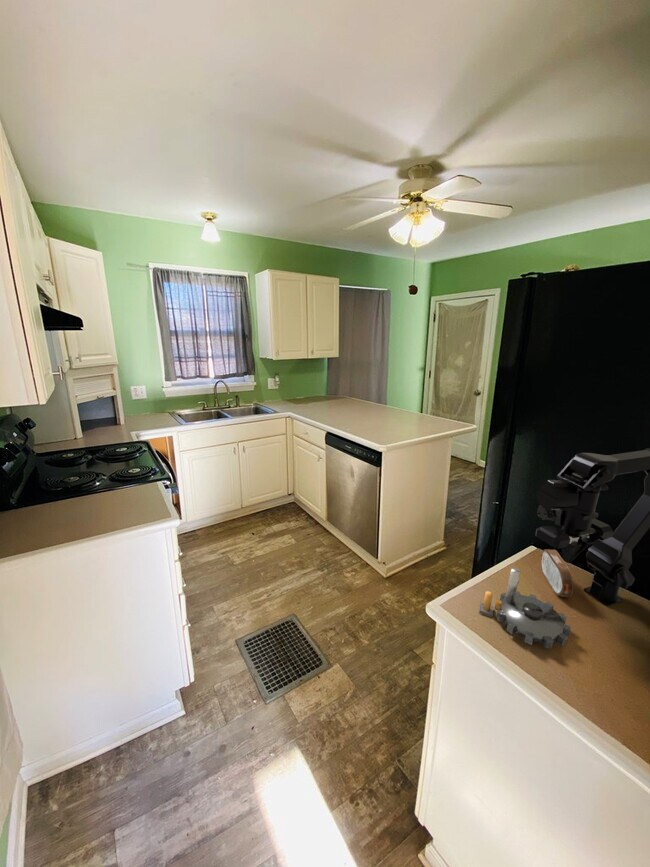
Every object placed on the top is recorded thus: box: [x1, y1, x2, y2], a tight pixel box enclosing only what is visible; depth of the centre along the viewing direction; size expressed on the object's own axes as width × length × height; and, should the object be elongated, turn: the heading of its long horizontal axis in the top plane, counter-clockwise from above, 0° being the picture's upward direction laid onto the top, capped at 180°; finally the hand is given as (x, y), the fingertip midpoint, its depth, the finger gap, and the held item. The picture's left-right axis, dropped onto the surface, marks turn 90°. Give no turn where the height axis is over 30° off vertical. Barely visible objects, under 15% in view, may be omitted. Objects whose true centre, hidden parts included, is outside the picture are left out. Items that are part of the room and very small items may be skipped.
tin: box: [540, 548, 575, 598], centre depth 99 cm, size 15×3×8 cm, turn 168°
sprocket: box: [494, 567, 572, 649], centre depth 83 cm, size 15×15×11 cm
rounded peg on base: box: [478, 590, 494, 618], centre depth 88 cm, size 3×3×5 cm
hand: (567, 561), depth 90 cm, fingers closed
